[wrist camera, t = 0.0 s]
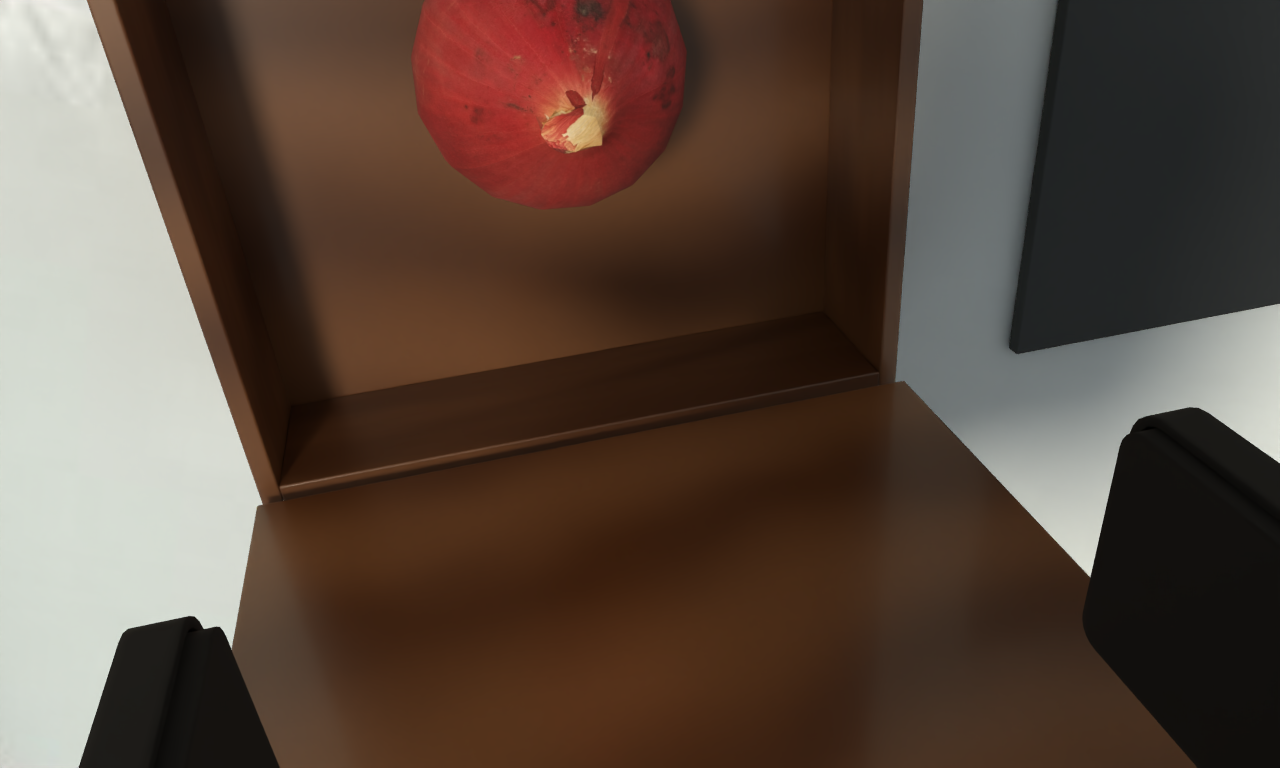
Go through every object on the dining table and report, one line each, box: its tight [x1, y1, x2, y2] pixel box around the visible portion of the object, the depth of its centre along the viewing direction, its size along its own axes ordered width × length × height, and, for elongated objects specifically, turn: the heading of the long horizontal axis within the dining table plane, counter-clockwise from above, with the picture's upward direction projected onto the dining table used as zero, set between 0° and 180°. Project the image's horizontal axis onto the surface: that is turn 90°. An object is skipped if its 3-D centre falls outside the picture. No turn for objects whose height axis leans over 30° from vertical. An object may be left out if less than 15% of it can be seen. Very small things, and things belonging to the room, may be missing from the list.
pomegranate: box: [411, 0, 687, 210], centre depth 20 cm, size 6×6×8 cm
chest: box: [87, 0, 923, 505], centre depth 22 cm, size 19×17×4 cm
